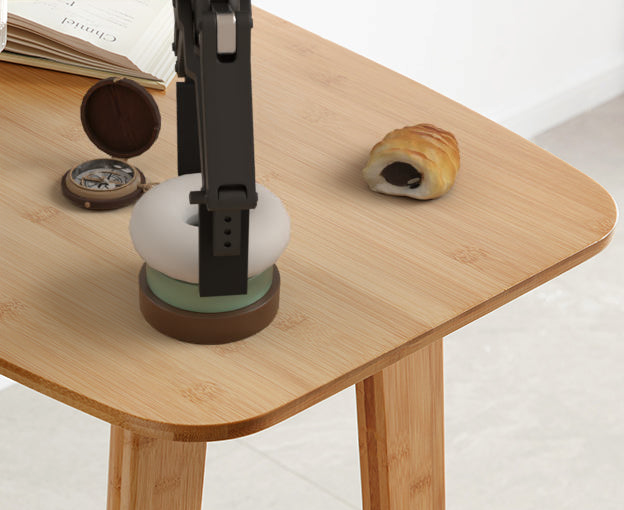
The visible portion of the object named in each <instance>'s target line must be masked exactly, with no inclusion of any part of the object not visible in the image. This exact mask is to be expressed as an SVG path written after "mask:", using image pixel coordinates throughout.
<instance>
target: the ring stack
mask: <svg viewBox="0 0 624 510" xmlns="http://www.w3.org/2000/svg"><path fill="white" fill-rule="evenodd" d="M196 227H198V226H196ZM280 294H281V273H280V270H279V268H278V266H277V264H276V263H275V264H273V265H272V266H270V267H269V268H267V269H266V270H264V271H263V272H261V273H259V274H258V275H255V276H253V277H250V278H248V287H247V295H231V296H215V297H200V295H199V283H190V282H186V281H182V280H178V279H174V278H171V277H169V276H167V275H165V274H163V273H161V272H159V271H157V270H155V269H154V268H152V267H150V266H149V265H148V264H147V263H146V262H145V261H144V262H143V263H142V265H141V266H140V269H139V273H138V300H139V309H140V312H141V314H142V316H143V319H145V321H146V322H147V323H148V324H149V325H150V326H151V327H152V328H153V329H155V330H156V331H157V332H159V333H161V334H163V335H165V336H168V337H169V338H172V339H174V340H178V341H182V342H185V343H191V344H197V345H198V344H199V345H200V344H201V345H218V344H227V343H228V344H229V343H233V342H234V343H235V342H239V341H242V340H245V339H247V338H250V337H253V336H254V335H256V334H258V333H260V332H262V331H263V330H264V329H266V328H267V327H268V326H269V325H271V323H272V322H273V321H274V319H276V316H277V315H278V312H279V308H280V298H281V297H280V296H281V295H280Z"/></svg>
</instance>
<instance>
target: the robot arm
mask: <svg viewBox="0 0 624 510" xmlns="http://www.w3.org/2000/svg"><path fill="white" fill-rule="evenodd" d="M171 2H172V7H173V19H174V21H173V22H174V24H173V26H174V28H173V42H171V51H173V54H174V57H176V60H175V64H174V73H176V76H177V78H178V79H183V80H184V81H175V101H176V104H175V105H176V108H175V110H176V153H177V154H176V163H177V164H176V165H177V166H176V167H177V168H176V169H177V177H178V176H182V175H186V174H196V173H201V175H202V188H201V189H200V191H190V193H189V203H190V205H191V204H198V249H199V295H200V297H215V296H231V295H247V287H248V251H249V215H250V209H255V208H256V206H257V202H258V193H257V192H256V182H257V181H256V159H255V158H256V157H255V135H254V133H255V132H254V131H255V130H254V110H253V109H254V107H253V85H252V84H253V83H252V82H253V81H252V62H251V61H252V29H253V28H254V20H253V19H254V18H253V11H252V10H253V9H252V0H171Z"/></svg>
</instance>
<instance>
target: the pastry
mask: <svg viewBox="0 0 624 510" xmlns="http://www.w3.org/2000/svg"><path fill="white" fill-rule="evenodd" d="M458 144H459V143H458V140H457V139H456V137H455V135H454V134H453V133H452V132H451V131H448V130H445V129H443V128H441V127H437V126H435V124H433V123H432V124H431V123H424V122H423V123H418V124H415V125H412V126H411V125H410V126H409V125H407V126H403V127H401V128H395V129H394V130H392V131H390V132H387V133H386V134H385V135H384V137H383V138H382V139H381V140H380V141H378V142H376V143H375V144H374V145H373V147H372V148H371V150H370V153H369V156H368V162H367V164H366V166H365V168H363V170H362V177H363V180H364V181H365V182H366V183H367V185H368V188H369V189H370V190H372V191H373V192H375V193H380V194H385V195H388V196H399V197H400V196H403V197H404V196H405V197H408V198H412V199H416V200H429V199H432V200H433V199H435V200H436V199H438V198H440V197H442V196H444V195H446V194H448V193H449V192H450V190H451V189H452V188H453V186H454V184H455V181H456V178H457V175H458V172H459V170H460V169H461V155H460V151H461V150H460V149H459V145H458Z"/></svg>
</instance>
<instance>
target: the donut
mask: <svg viewBox="0 0 624 510" xmlns="http://www.w3.org/2000/svg"><path fill="white" fill-rule="evenodd" d="M159 183H160V184H158V185H157V184H155V186H154V185H153V186H152V188H151V189H150V190H148V191H146V193H143V195H142V196H141V197H140V198H139V199H137V200H136V203H135V204H134V206H133V208H132V212H131V215H130V219H129V224H128V232H129V237H130V240H131V243H132V246H133V249H134V251H135V252H136V253H137V255H138V256H139V257H140V259H142V260H143V261H144V262H146V263H147V264H148V265H149V266H150V267H152V268H154V269H155V270H157V271H159V272H161V273H163V274H165V275H167V276H169V277H171V278H174V279H178V280H182V281H186V282H190V283H199V249H198V227H196V226H198V204H191V205H190V203H189V193H190V191H200V189H201V188H202V175H201V173H196V174H186V175H182V176H178V175H177V176H176V177H172V178H171V177H170V178H168V179H166V180H164V181H162V182H159ZM256 192H257V193H258V202H257V206H256V208H255V209H250V215H249V251H248V278H250V277H253V276H255V275H258V274H259V273H261V272H263V271H264V270H266V269H267V268H269V267H270V266H272V265H273V264H276V263H277V262H278V260H279V259H280V258H281V256H282V255H283V253H284V252H285V251H286V249H287V247H288V246H289V244H290V239H291V229H292V222H291V216H290V214H289V212H288V211H287V209H286V207H285V205H284V203H283V201H282V199H281V198H280V197H279V196H277V195H276V194H275V193H274V192H272V191H271V189H269V188H268V187H266V186H265V185H263V184H261V183H259V182H257V181H256Z"/></svg>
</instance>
